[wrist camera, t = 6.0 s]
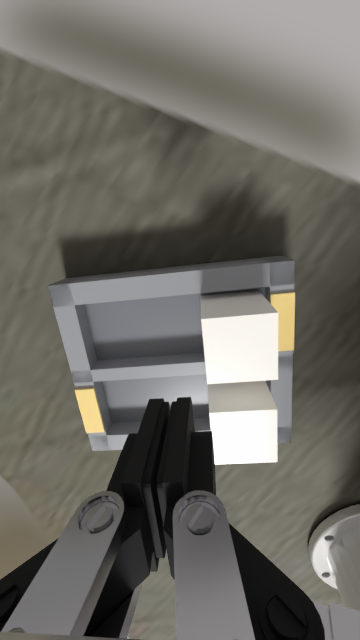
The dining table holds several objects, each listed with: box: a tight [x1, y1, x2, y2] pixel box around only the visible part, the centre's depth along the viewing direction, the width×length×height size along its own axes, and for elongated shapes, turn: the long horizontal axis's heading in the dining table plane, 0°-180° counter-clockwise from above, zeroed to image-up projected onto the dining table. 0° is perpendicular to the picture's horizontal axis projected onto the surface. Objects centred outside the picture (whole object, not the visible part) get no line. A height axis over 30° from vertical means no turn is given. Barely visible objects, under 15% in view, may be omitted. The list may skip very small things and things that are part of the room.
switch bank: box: [48, 255, 295, 451], centre depth 21 cm, size 14×16×3 cm
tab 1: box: [200, 290, 278, 384], centre depth 18 cm, size 4×4×5 cm
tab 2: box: [208, 381, 277, 464], centre depth 20 cm, size 4×4×5 cm
